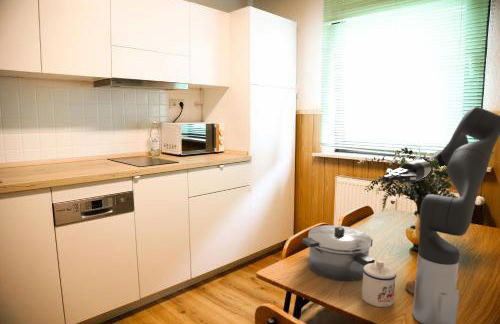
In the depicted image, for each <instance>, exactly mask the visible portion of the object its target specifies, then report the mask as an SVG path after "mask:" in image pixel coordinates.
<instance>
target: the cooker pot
mask: <svg viewBox="0 0 500 324" xmlns="http://www.w3.org/2000/svg"><path fill="white" fill-rule="evenodd" d="M311 229H312V228H310V230H311ZM310 230H309V231H310ZM371 247H373V238H371V246H370V247H369V248H368V249H365V250H362V251H357V252H340V251H333V250H328V249H325V248H322V247H319V246H316V247H311V248H310V247H309V246H308V248H309V249H308V268H309V269H310V271H312V272H313V273H314V274H315V275H317V276H319V277H322V278H325V279H327V280H332V281H337V282H355V281H359V280H363V267H364V266H365V265H366V264H370V263H376V262H375V260H376V259H374V258H372V257H370V255H369V254H370V249H371Z"/></svg>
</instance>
